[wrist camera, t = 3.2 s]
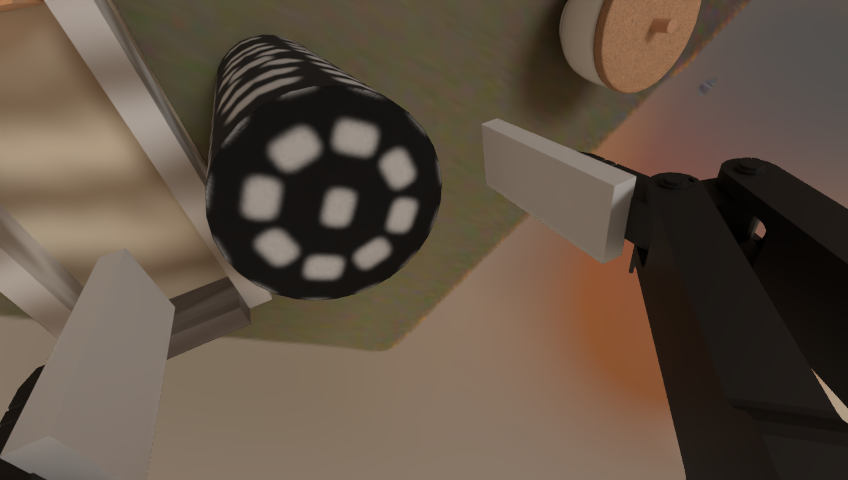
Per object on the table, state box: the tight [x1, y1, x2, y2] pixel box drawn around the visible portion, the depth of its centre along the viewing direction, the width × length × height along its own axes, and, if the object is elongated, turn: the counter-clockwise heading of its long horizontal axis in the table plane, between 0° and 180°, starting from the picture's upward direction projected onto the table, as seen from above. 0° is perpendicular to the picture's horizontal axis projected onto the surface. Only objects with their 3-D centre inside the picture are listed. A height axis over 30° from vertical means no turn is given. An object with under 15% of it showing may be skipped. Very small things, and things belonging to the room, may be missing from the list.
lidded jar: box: [559, 0, 701, 93], centre depth 33 cm, size 11×11×9 cm
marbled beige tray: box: [0, 0, 272, 359], centre depth 24 cm, size 26×14×6 cm, turn 10°
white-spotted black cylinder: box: [205, 35, 442, 300], centre depth 21 cm, size 8×8×20 cm
